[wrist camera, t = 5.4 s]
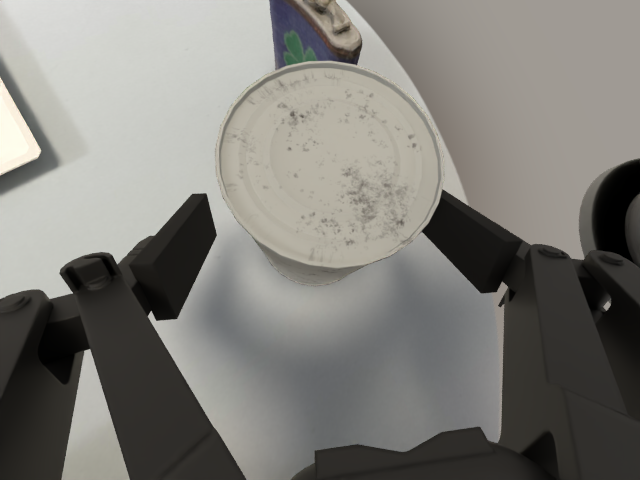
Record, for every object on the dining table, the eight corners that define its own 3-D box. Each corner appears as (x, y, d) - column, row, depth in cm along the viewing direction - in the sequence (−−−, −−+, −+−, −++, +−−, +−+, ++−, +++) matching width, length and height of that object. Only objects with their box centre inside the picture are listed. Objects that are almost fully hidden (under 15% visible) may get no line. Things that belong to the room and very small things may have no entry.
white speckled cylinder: (258, 286, 20) (202, 268, 9) (263, 181, 23) (224, 53, 11) (370, 285, 21) (460, 268, 9) (364, 184, 24) (431, 67, 12)
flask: (271, 80, 25) (253, -70, 15) (293, 67, 26) (291, -85, 16) (328, 143, 24) (351, 27, 14) (350, 128, 25) (388, 7, 15)
